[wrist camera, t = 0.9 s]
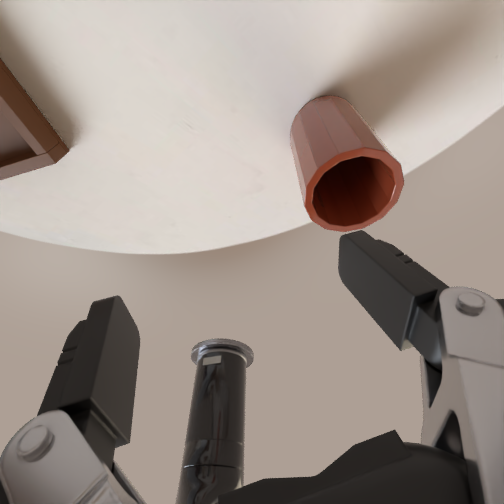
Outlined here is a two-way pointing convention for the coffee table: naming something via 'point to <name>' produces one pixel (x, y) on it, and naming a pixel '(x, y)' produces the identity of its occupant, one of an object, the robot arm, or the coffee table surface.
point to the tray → (24, 131)
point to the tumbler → (342, 166)
